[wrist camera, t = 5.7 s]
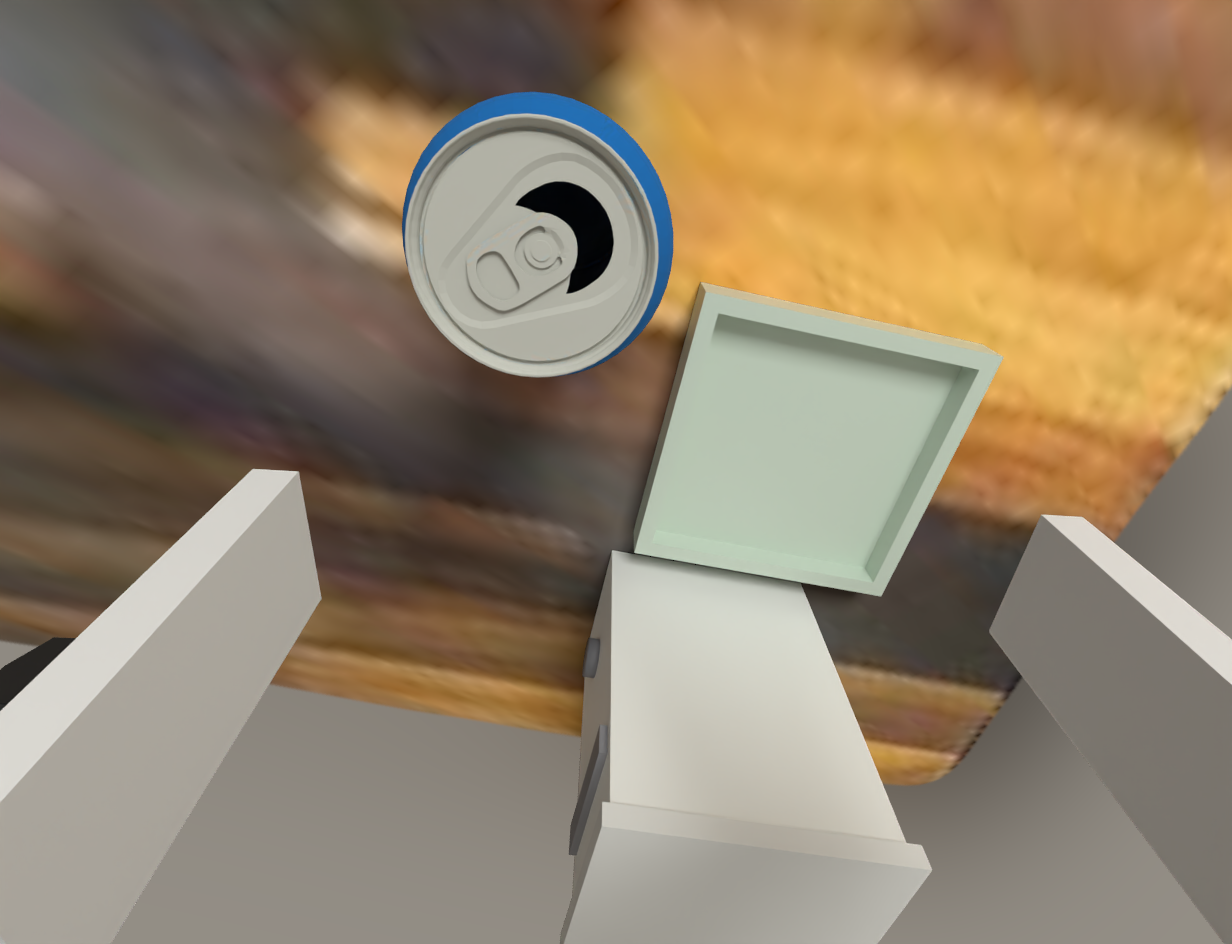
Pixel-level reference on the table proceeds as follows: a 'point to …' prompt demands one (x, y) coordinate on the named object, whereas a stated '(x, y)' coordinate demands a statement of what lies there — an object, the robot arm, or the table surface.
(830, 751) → the block
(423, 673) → the table surface
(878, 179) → the table surface
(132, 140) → the table surface
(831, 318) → the tray
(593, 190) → the beverage can
